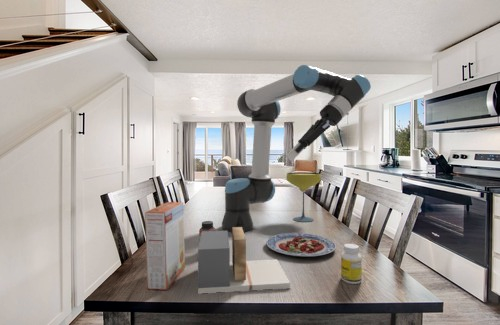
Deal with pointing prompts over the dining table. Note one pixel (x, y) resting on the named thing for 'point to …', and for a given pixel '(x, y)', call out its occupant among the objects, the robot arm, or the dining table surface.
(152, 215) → the cracker box
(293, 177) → the cocktail glass
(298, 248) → the ceramic plate
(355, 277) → the supplement bottle
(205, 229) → the supplement bottle
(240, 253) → the plate
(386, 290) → the dining table surface
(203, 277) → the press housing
